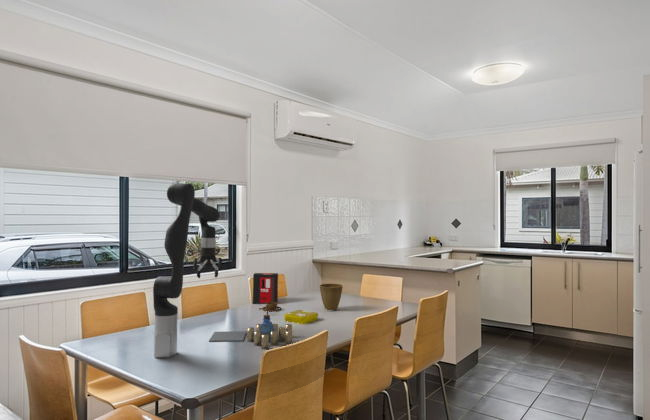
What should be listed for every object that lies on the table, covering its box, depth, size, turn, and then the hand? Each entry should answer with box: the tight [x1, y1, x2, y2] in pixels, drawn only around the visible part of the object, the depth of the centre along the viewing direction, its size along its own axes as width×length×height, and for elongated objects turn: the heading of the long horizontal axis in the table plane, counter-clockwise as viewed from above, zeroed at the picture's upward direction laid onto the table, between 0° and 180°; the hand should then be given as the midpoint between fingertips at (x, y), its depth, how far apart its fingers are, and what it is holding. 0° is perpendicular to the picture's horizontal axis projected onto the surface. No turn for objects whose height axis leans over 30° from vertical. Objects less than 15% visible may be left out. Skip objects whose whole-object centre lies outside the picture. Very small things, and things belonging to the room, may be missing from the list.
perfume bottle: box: [259, 314, 274, 344], centre depth 207 cm, size 6×6×12 cm
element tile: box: [283, 309, 319, 325], centre depth 249 cm, size 15×15×5 cm
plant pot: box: [319, 283, 343, 310], centre depth 278 cm, size 15×15×16 cm
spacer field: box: [246, 320, 293, 350], centre depth 207 cm, size 28×22×6 cm
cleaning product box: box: [252, 272, 279, 305], centre depth 298 cm, size 16×9×20 cm, turn 94°
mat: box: [208, 330, 247, 343], centre depth 212 cm, size 16×16×1 cm
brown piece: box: [258, 302, 282, 315], centre depth 272 cm, size 18×20×6 cm
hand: (207, 277), depth 223 cm, fingers open, 8 cm apart
